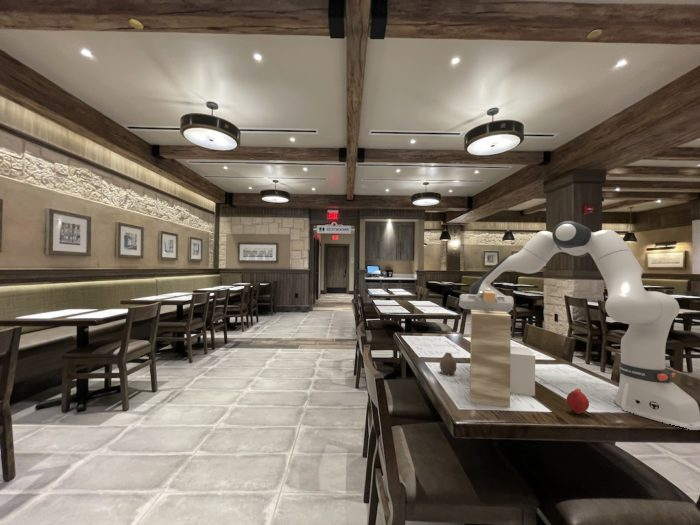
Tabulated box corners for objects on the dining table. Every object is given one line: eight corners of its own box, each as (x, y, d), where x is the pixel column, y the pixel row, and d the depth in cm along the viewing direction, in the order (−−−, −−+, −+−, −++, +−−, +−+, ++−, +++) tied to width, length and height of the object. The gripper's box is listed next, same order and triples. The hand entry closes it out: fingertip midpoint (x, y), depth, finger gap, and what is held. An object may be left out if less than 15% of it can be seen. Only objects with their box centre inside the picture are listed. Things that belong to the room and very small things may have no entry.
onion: (579, 418, 99) (579, 392, 99) (562, 410, 105) (562, 385, 105) (593, 416, 101) (593, 390, 101) (575, 408, 106) (575, 384, 106)
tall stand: (469, 389, 122) (470, 309, 122) (505, 394, 118) (505, 311, 118) (470, 401, 110) (472, 313, 111) (509, 407, 106) (510, 315, 107)
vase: (458, 376, 137) (458, 355, 137) (442, 376, 137) (442, 355, 137) (453, 371, 144) (453, 351, 144) (437, 370, 144) (438, 351, 144)
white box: (494, 380, 132) (495, 345, 133) (527, 384, 129) (528, 347, 129) (498, 391, 120) (498, 352, 121) (534, 396, 116) (535, 355, 117)
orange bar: (482, 297, 131) (482, 290, 131) (490, 297, 130) (490, 290, 130) (485, 301, 113) (485, 293, 113) (494, 302, 112) (494, 293, 112)
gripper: (458, 300, 142) (459, 285, 131) (510, 302, 136) (514, 287, 125) (458, 313, 139) (458, 299, 128) (511, 316, 133) (516, 302, 121)
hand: (486, 293), depth 126 cm, fingers closed on orange bar, 3 cm apart
